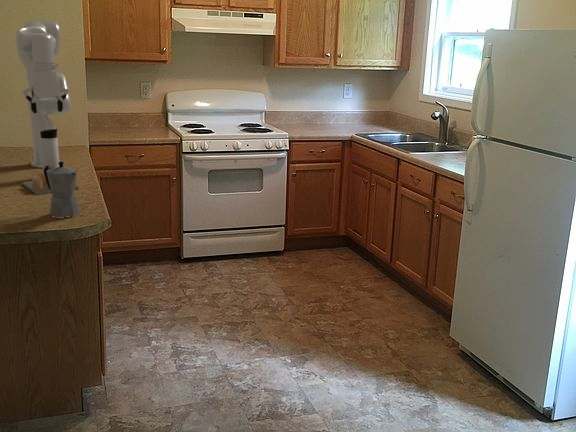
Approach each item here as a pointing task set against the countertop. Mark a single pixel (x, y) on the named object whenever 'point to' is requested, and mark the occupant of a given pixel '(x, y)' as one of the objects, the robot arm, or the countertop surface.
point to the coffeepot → (62, 190)
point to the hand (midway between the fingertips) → (47, 112)
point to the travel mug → (49, 148)
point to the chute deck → (39, 184)
